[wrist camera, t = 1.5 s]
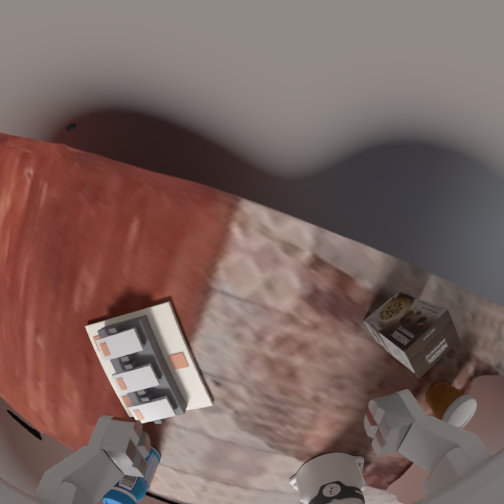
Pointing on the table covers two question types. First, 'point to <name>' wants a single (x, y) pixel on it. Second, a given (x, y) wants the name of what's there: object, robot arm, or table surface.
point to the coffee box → (412, 331)
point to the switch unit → (155, 358)
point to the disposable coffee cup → (451, 404)
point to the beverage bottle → (133, 484)
